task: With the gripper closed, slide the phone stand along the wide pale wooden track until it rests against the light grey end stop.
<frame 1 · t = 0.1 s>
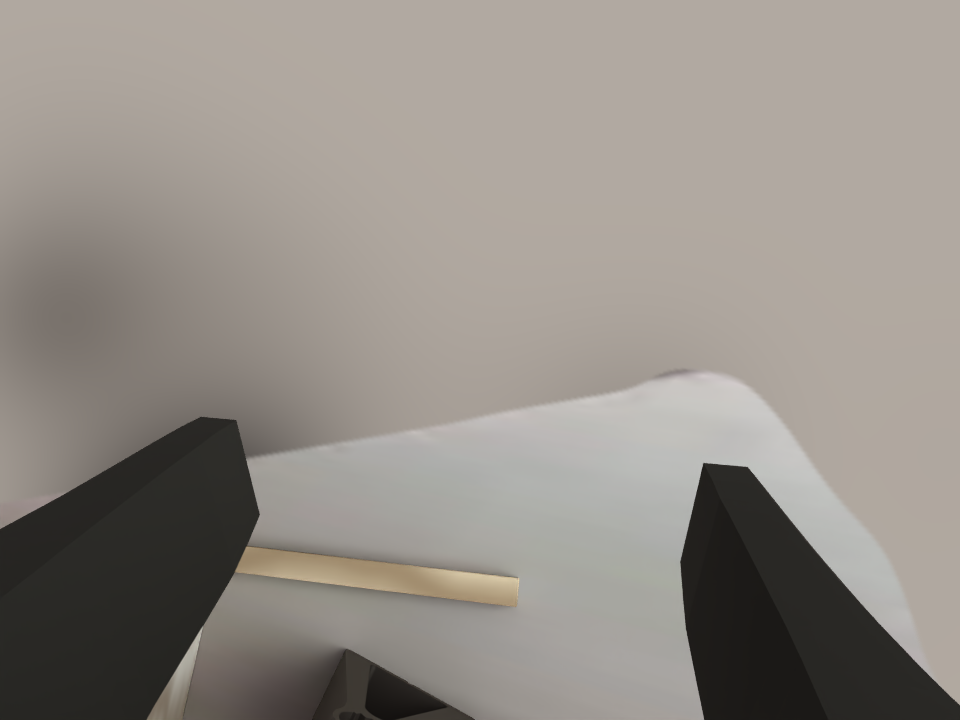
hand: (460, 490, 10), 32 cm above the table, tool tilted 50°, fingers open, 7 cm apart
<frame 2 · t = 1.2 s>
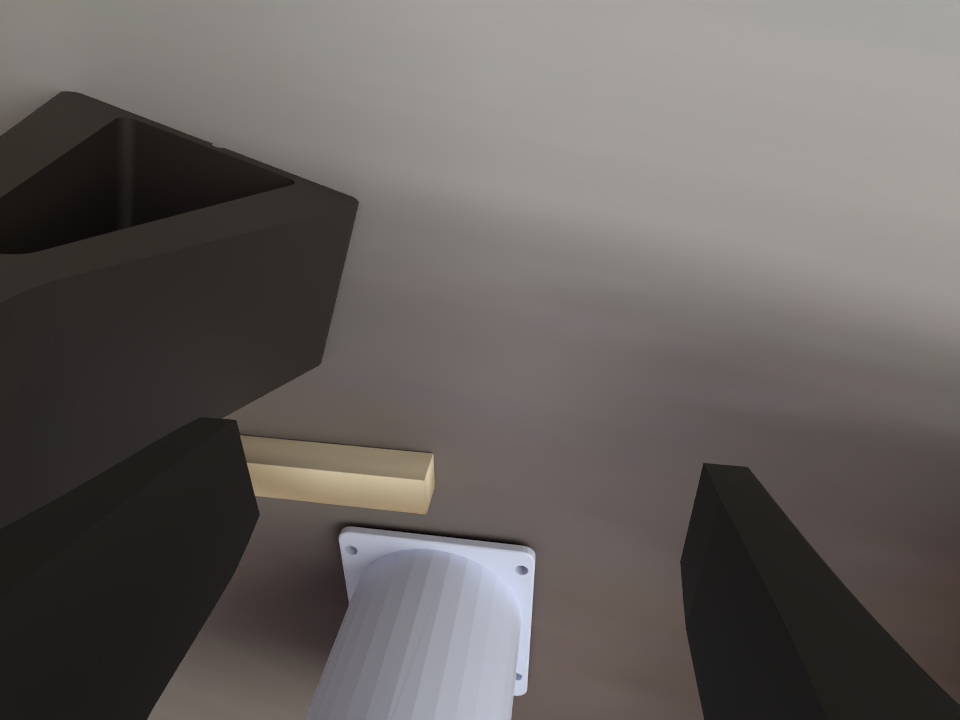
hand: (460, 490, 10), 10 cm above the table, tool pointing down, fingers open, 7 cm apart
phone stand: (212, 233, 20), on the table
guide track: (122, 232, 20), on the table
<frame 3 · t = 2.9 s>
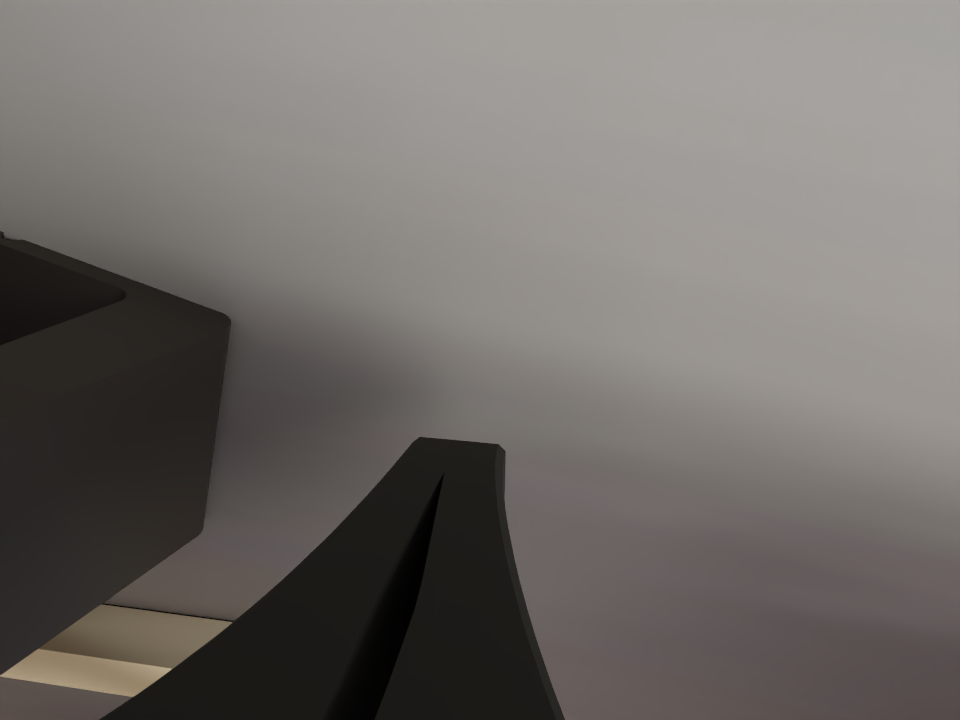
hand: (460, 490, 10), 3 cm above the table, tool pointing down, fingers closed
phone stand: (29, 355, 14), on the table
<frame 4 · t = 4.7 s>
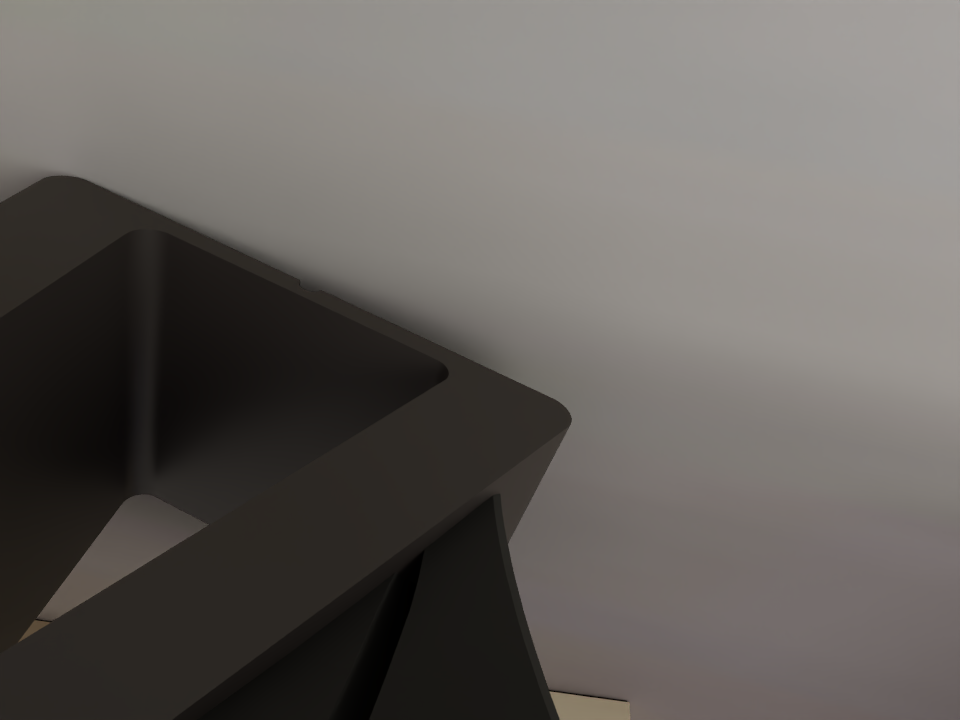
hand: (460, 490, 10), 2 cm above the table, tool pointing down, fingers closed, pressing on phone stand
phone stand: (289, 420, 11), point 1 cm above the table, touching gripper
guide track: (156, 393, 12), on the table
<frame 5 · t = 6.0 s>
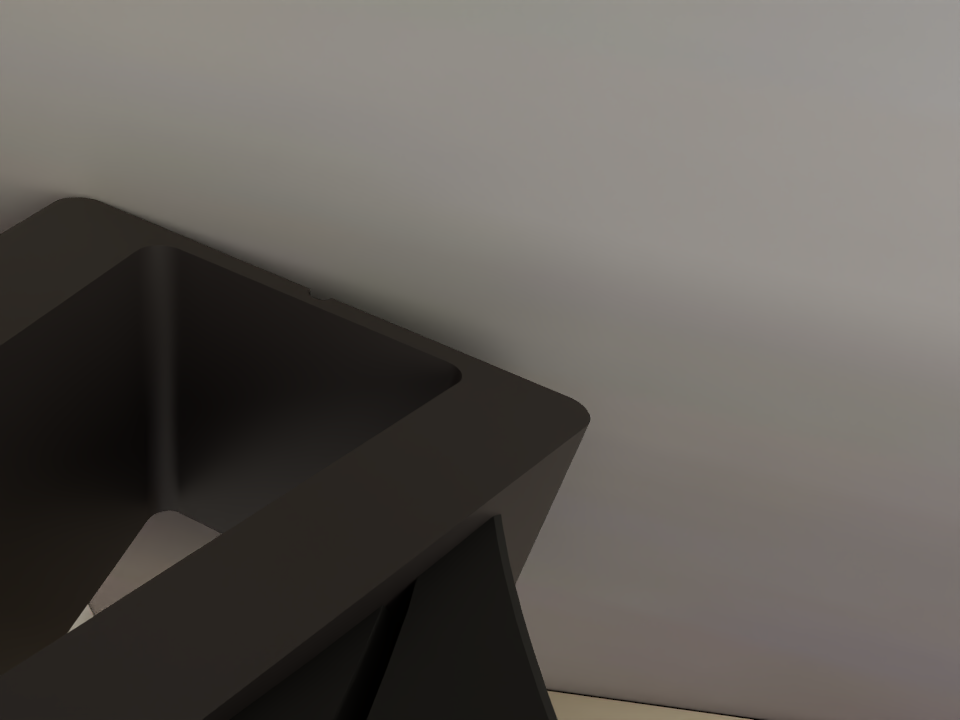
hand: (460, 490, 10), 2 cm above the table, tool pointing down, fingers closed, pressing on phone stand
phone stand: (306, 431, 11), point 1 cm above the table, touching gripper
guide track: (459, 417, 11), on the table
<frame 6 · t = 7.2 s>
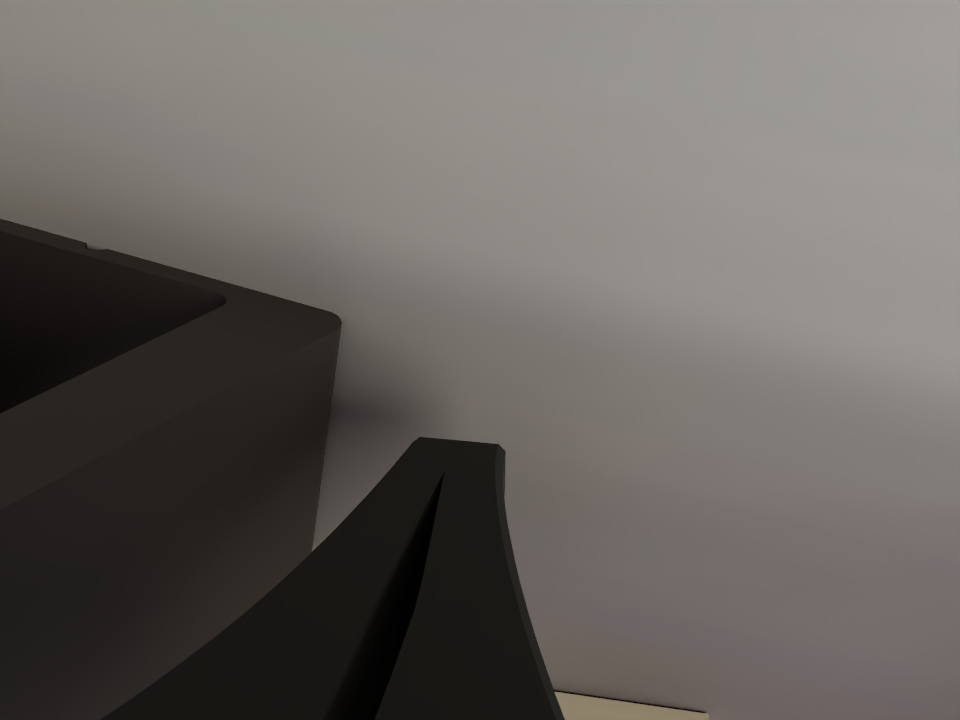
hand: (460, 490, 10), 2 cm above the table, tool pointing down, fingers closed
phone stand: (118, 378, 12), on the table
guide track: (246, 396, 12), on the table
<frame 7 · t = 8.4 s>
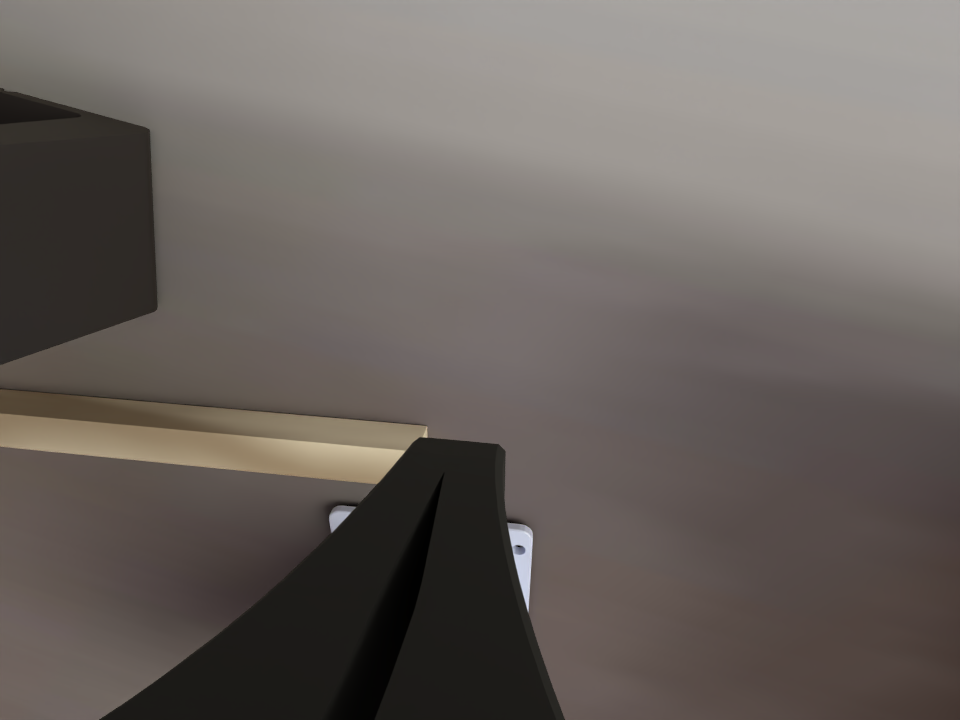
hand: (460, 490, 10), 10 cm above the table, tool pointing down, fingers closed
phone stand: (29, 186, 20), on the table
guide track: (104, 190, 20), on the table
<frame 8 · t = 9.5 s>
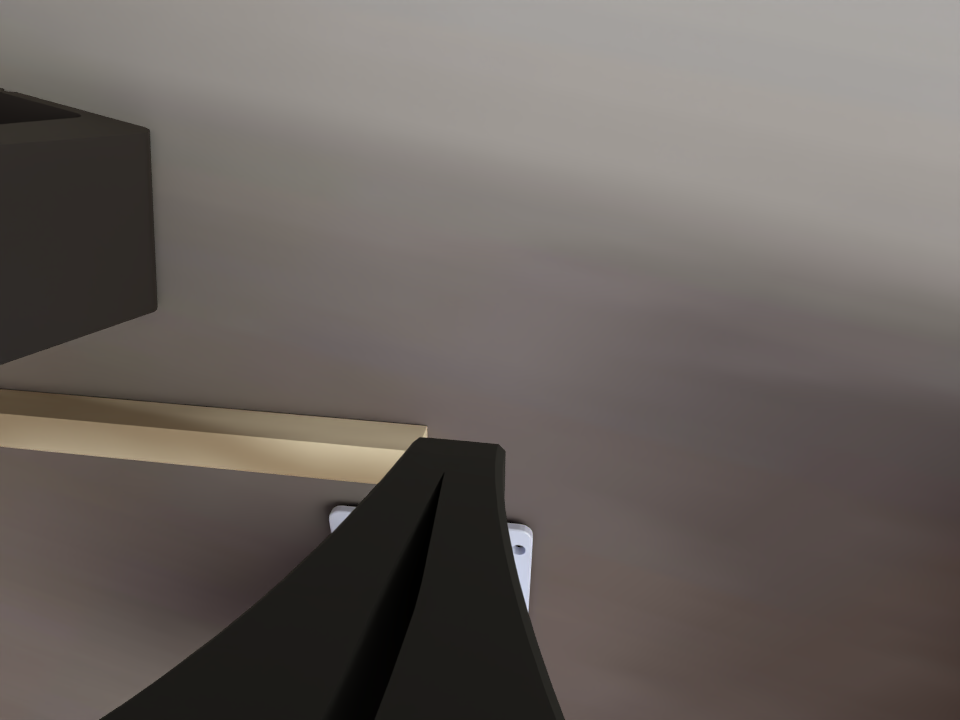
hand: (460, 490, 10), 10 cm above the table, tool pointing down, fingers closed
phone stand: (29, 186, 20), on the table
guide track: (104, 190, 20), on the table
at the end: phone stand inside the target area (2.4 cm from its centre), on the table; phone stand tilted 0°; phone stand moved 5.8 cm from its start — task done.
